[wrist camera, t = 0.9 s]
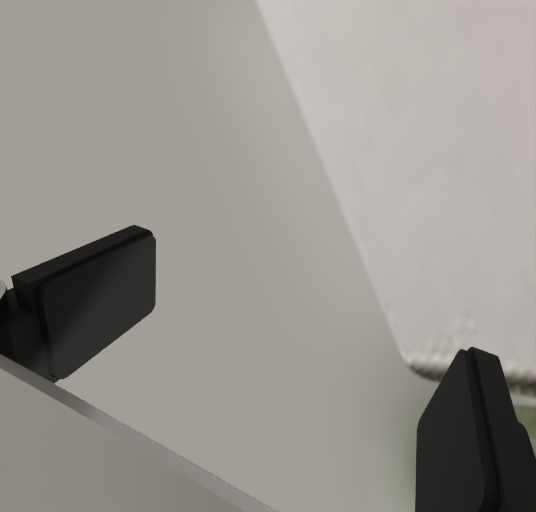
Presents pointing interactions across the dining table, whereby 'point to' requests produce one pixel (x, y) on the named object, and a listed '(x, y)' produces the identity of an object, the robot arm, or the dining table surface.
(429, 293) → the dining table surface
